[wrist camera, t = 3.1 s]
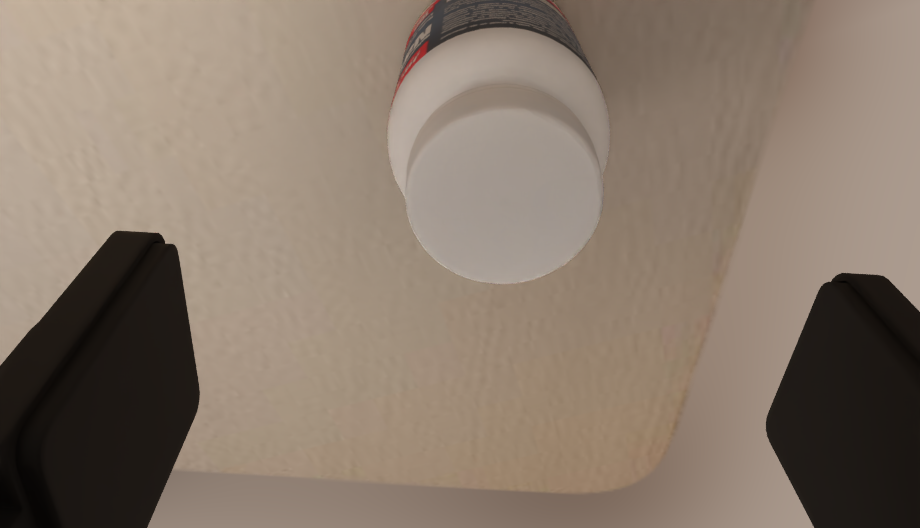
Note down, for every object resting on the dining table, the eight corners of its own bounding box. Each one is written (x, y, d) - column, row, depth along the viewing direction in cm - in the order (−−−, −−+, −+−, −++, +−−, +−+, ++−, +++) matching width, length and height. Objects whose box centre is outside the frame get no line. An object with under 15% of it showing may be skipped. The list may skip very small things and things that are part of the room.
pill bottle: (404, -30, 20) (370, 59, 12) (587, -20, 20) (663, 74, 13) (403, 145, 23) (374, 304, 15) (564, 152, 23) (614, 314, 15)
